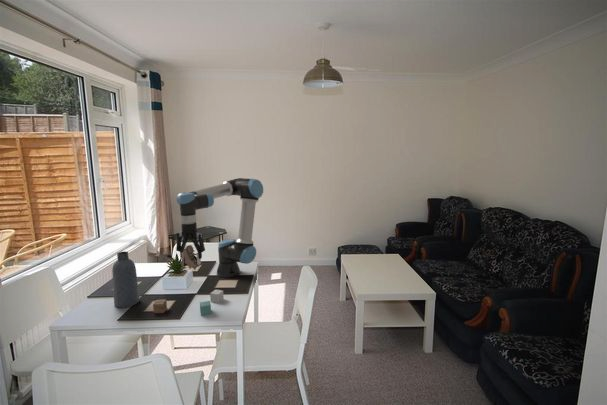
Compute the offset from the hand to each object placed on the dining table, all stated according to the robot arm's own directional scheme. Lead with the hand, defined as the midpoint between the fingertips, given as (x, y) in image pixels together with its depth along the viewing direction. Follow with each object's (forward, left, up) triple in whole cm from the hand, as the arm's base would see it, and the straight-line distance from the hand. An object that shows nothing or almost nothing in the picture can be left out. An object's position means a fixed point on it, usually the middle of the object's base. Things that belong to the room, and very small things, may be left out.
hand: (191, 263), depth 175 cm
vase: (+7, -35, -22) cm, 42 cm away
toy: (0, 0, -3) cm, 3 cm away
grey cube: (-4, +12, -22) cm, 25 cm away
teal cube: (+10, +12, -22) cm, 27 cm away
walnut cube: (+12, -12, -22) cm, 28 cm away
